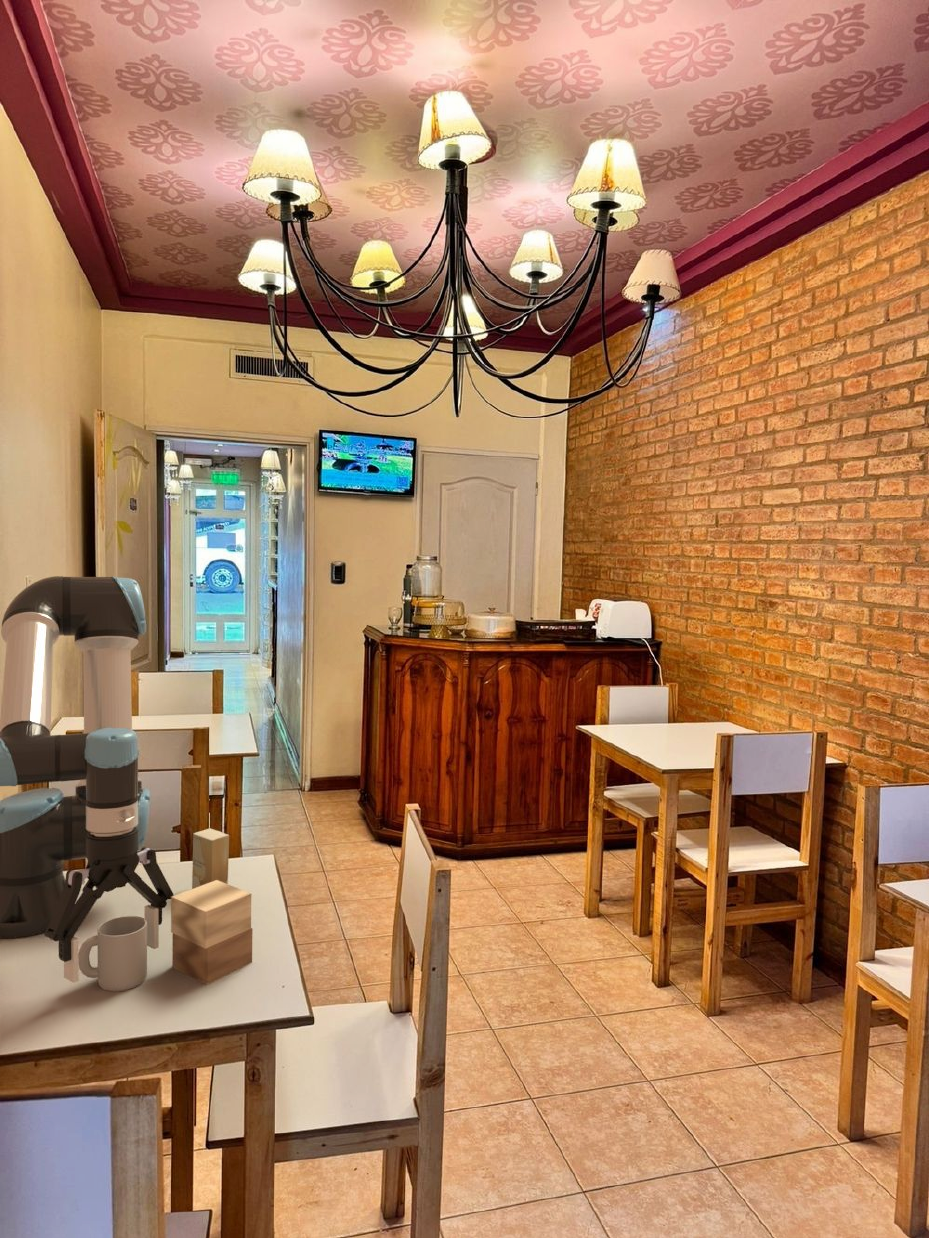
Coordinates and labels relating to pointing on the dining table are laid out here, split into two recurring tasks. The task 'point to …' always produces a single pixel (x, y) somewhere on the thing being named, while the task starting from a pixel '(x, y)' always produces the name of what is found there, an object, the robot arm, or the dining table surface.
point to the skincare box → (210, 857)
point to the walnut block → (212, 957)
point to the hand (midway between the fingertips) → (113, 962)
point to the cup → (117, 953)
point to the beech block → (210, 913)
